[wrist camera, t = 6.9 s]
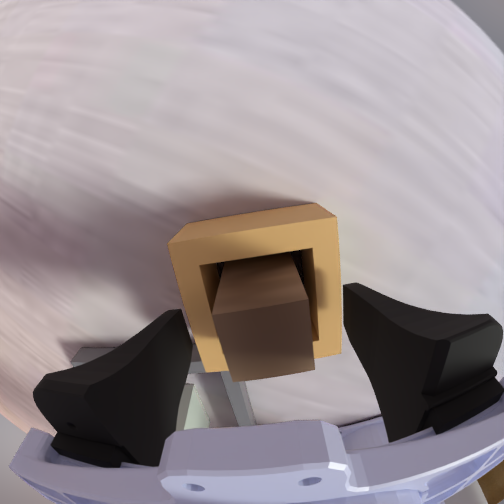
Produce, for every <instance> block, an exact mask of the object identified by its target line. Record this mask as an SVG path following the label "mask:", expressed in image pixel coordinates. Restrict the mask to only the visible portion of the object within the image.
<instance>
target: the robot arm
mask: <svg viewBox="0 0 504 504" xmlns="http://www.w3.org/2000/svg"><path fill="white" fill-rule="evenodd" d="M343 324H344V327H345V330H346V332H347V335H348V338H349V341H350V343H351V345H352V347H353V348H354V350H355V352H356V354H357V356H358V358H359V360H360V362H361V364H362V365H363V367H364V369H365V371H366V373H367V375H368V377H369V379H370V382H371V384H372V387H373V390H374V392H375V395H376V398H377V401H378V404H379V408H380V411H381V414H382V416H381V417H378V418H375V419H371V420H368V421H364V422H360V423H357V424H353V425H349V426H345V427H340V428H338V427H337V426H336V425H333V424H330V423H327V422H324V421H321V420H294V421H288V422H280V423H272V424H263V425H253V426H241V427H223V428H193V429H187V430H180V431H176V424H177V417H178V409H179V404H180V400H181V396H182V393H183V389H184V386H185V382H186V379H187V375H188V371H189V368H190V364H191V358H192V349H193V344H192V341H191V338H190V335H189V332H188V329H187V326H186V323H185V320H184V317H183V314H182V310H181V309H176V310H168V311H167V312H165V313H163V314H162V315H161V316H159V317H158V318H157V319H156V320H154V321H153V322H152V323H150V324H149V325H148V326H147V327H145V328H144V329H143V330H142V331H140V332H139V333H138V334H136V335H135V336H133V337H132V338H131V339H129V340H128V341H126V342H125V343H123V344H122V345H120V346H119V347H117V348H115V349H114V350H112V351H110V352H108V353H107V354H104V355H102V356H100V357H98V358H96V359H94V360H92V361H89V362H87V363H84V364H82V365H79V366H76V367H73V368H70V369H66V370H62V371H58V372H54V373H49V374H46V375H45V376H44V377H43V379H42V380H41V381H40V382H39V384H38V385H37V386H36V388H35V389H34V391H33V398H34V401H35V403H36V405H37V407H38V408H39V410H40V411H41V413H42V414H43V415H44V417H45V418H46V419H47V420H48V422H49V423H50V424H51V425H52V426H53V428H54V429H55V430H56V431H57V434H56V436H55V437H53V436H52V435H51V434H49V433H47V432H44V431H41V430H38V429H35V428H31V429H30V431H29V432H28V434H27V436H26V437H25V439H24V441H23V442H22V444H21V446H20V447H19V449H18V451H17V453H16V454H15V456H14V458H13V460H12V462H11V463H10V465H9V468H10V469H11V470H12V471H13V472H14V473H15V474H16V475H18V476H19V477H20V478H21V479H22V480H23V481H25V482H26V483H27V484H28V485H30V486H31V487H32V488H33V489H35V490H36V491H37V492H39V493H40V494H41V495H43V496H44V497H45V498H47V499H48V500H50V501H52V502H54V503H56V504H445V502H444V500H446V499H447V498H449V497H451V496H452V495H454V494H456V493H457V492H459V491H461V490H462V489H464V488H465V487H467V486H468V485H470V484H471V483H473V482H474V481H476V480H477V479H479V478H480V477H482V476H483V475H484V474H486V473H487V472H488V471H490V470H491V469H492V468H494V467H495V466H496V465H498V464H499V463H500V462H502V461H503V460H504V377H503V378H502V379H501V380H500V382H498V381H497V379H496V378H495V376H496V375H497V371H496V370H495V368H494V367H493V364H494V362H495V360H496V357H497V354H498V352H499V349H500V347H501V343H502V339H503V329H502V326H501V325H500V324H499V323H498V322H497V321H496V320H495V319H494V318H493V317H491V316H490V315H489V314H472V315H464V314H450V313H442V312H436V311H430V310H426V309H422V308H418V307H415V306H411V305H408V304H405V303H402V302H400V301H397V300H395V299H392V298H390V297H387V296H385V295H383V294H381V293H379V292H377V291H374V290H372V289H370V288H368V287H366V286H364V285H361V284H359V283H351V284H345V285H343Z"/></svg>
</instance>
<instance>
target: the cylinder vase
mask: <svg viewBox="0 0 504 504" xmlns="http://www.w3.org/2000/svg"><path fill="white" fill-rule="evenodd" d="M444 502H445V504H488V503H487V500H486V498H485V496H484V494H483V492H482V489H481V487H480V485H479V483H478V481H477V480H476V481H474V482H473V483H471V484H470V485H468V486H467V487H465V488H464V489H462V490H461V491H459V492H457V493H456V494H454V495H452V496H451V497H449V498H447V499H446V500H444Z"/></svg>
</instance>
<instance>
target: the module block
mask: <svg viewBox="0 0 504 504" xmlns="http://www.w3.org/2000/svg"><path fill="white" fill-rule="evenodd" d="M209 424H210V420H209V418H208V416H207V414H206V411H205V409H204V407H203V405H202V402H201V400H200V398H199V395H198V393H197V390H196V388H195V386H194V384H185V386H184V389H183V393H182V396H181V400H180V404H179V409H178V417H177V424H176V431H180V430H187V429H193V428H209Z"/></svg>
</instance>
